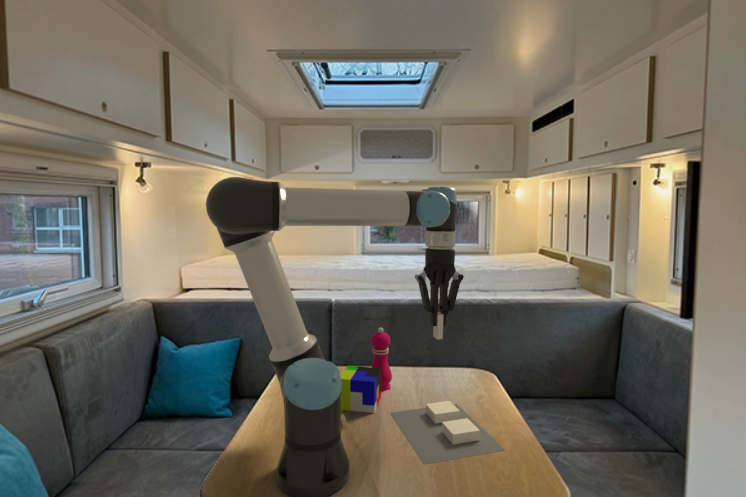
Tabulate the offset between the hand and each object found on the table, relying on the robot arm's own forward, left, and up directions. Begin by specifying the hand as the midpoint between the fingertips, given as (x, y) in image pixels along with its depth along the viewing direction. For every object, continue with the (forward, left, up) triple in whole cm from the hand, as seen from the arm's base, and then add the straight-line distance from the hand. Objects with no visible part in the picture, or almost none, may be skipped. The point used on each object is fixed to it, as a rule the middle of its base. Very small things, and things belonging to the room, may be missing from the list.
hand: (437, 337), depth 109 cm
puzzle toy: (+5, +21, -23) cm, 32 cm away
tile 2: (-10, -3, -20) cm, 23 cm away
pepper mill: (+17, +17, -23) cm, 33 cm away
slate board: (-6, -2, -23) cm, 24 cm away
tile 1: (-1, +2, -20) cm, 20 cm away
